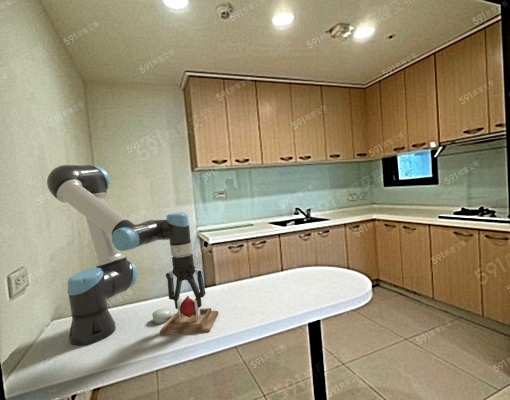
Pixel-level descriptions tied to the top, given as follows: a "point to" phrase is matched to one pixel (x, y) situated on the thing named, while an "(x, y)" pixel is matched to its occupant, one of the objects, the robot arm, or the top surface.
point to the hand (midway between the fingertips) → (189, 316)
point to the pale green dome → (161, 315)
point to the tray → (190, 322)
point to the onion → (187, 307)
